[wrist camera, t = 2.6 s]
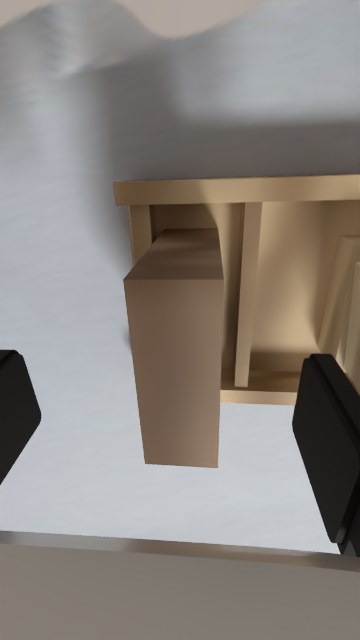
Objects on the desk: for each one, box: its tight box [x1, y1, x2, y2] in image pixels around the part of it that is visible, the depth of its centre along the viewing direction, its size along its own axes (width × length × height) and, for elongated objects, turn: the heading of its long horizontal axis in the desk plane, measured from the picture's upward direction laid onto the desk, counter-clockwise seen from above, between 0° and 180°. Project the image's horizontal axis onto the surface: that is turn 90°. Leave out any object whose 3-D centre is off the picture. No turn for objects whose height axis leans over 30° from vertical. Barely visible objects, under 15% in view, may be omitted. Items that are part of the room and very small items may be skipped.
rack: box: [114, 174, 360, 405], centre depth 18 cm, size 17×13×3 cm
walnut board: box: [123, 228, 224, 468], centre depth 15 cm, size 3×8×9 cm, turn 2°
